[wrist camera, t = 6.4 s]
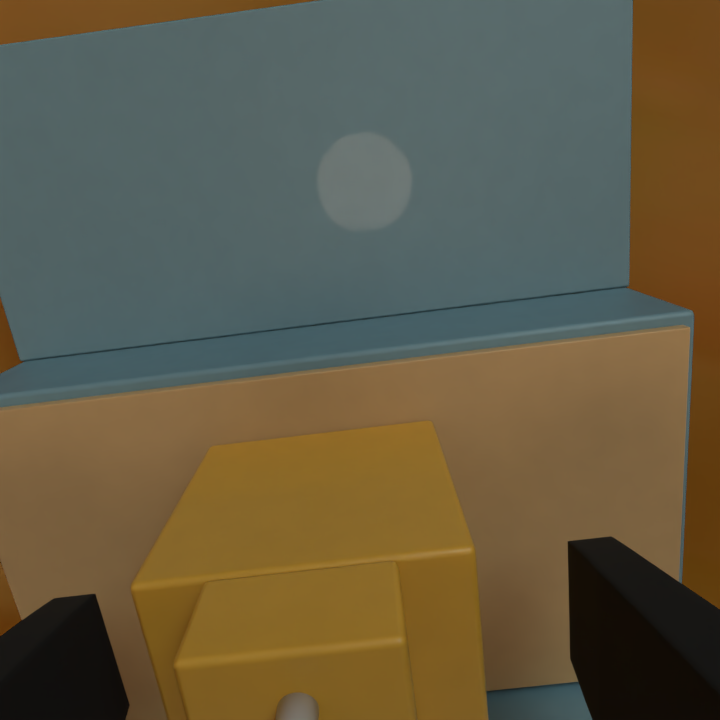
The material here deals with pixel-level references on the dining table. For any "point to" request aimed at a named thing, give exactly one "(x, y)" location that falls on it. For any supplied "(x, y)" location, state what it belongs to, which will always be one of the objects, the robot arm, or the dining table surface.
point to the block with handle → (317, 584)
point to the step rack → (336, 292)
